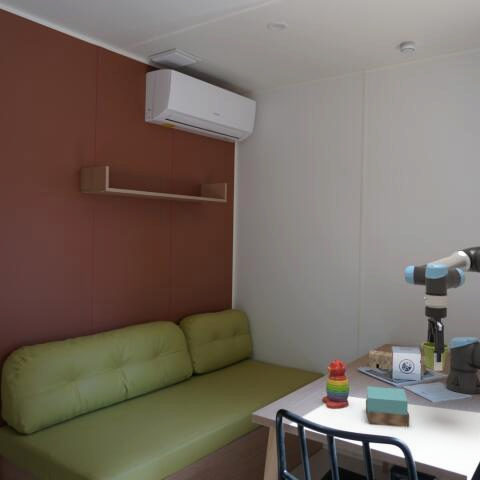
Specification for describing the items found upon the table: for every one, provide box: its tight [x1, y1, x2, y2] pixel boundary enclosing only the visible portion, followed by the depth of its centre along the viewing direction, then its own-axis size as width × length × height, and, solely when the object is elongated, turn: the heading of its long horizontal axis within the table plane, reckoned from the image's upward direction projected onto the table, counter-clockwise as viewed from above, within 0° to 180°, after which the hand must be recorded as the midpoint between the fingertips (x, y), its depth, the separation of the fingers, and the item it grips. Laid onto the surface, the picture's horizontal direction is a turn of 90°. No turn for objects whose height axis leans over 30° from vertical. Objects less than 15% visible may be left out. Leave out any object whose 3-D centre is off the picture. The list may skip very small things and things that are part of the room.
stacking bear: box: [321, 359, 350, 410], centre depth 203 cm, size 11×10×18 cm
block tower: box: [368, 349, 427, 376], centre depth 254 cm, size 8×8×29 cm
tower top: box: [366, 386, 408, 415], centre depth 188 cm, size 14×14×5 cm
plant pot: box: [421, 341, 450, 370], centre depth 184 cm, size 9×9×9 cm
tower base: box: [365, 398, 410, 428], centre depth 188 cm, size 14×14×5 cm
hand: (435, 366), depth 184 cm, fingers closed on plant pot, 8 cm apart
